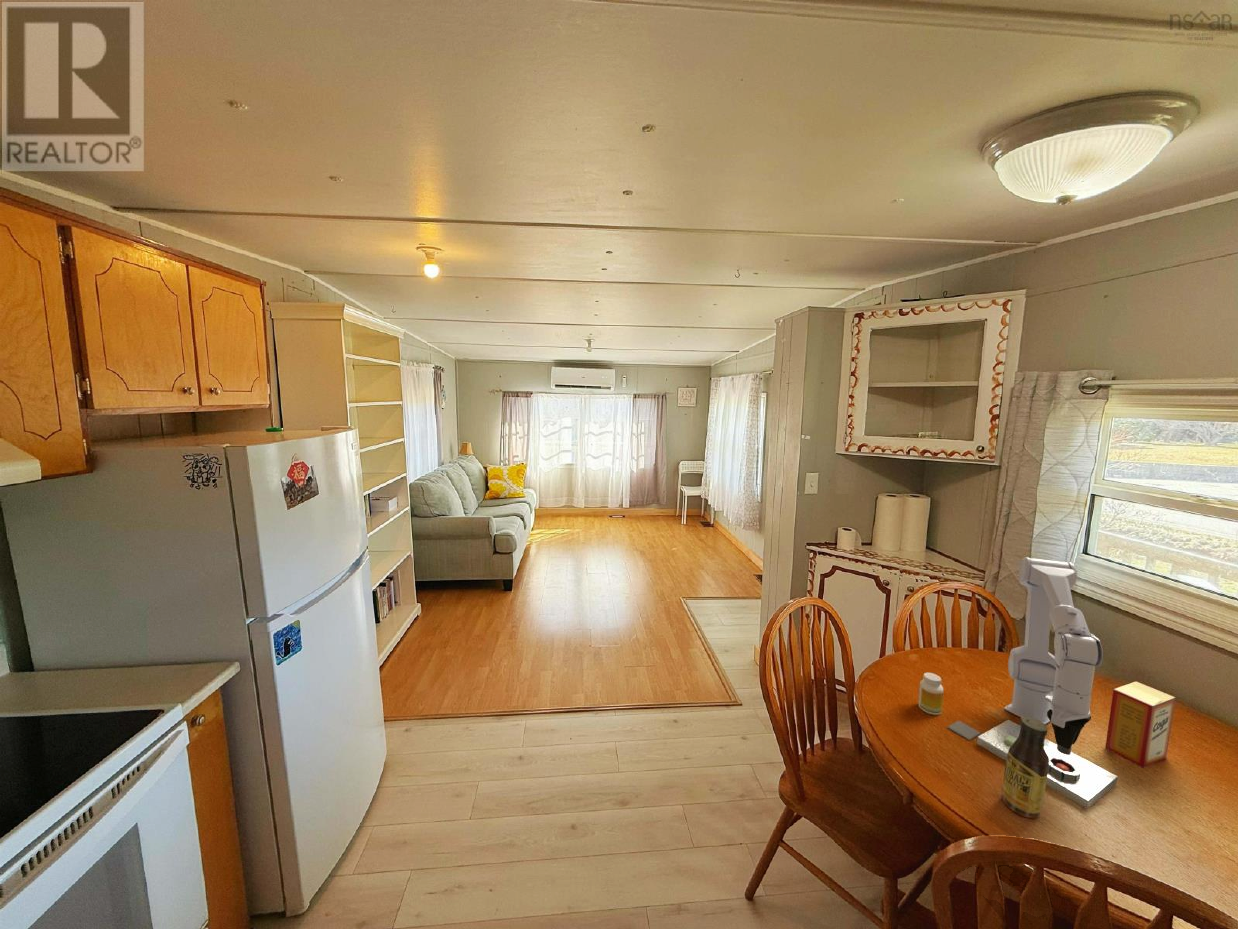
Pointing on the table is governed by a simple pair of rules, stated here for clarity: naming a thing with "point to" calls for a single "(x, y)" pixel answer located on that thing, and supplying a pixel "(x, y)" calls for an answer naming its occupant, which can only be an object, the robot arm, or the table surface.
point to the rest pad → (964, 730)
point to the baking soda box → (1140, 723)
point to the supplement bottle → (931, 694)
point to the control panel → (1076, 784)
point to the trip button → (1062, 767)
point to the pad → (1010, 740)
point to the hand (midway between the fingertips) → (1065, 743)
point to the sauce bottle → (1026, 770)
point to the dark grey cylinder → (1064, 750)
